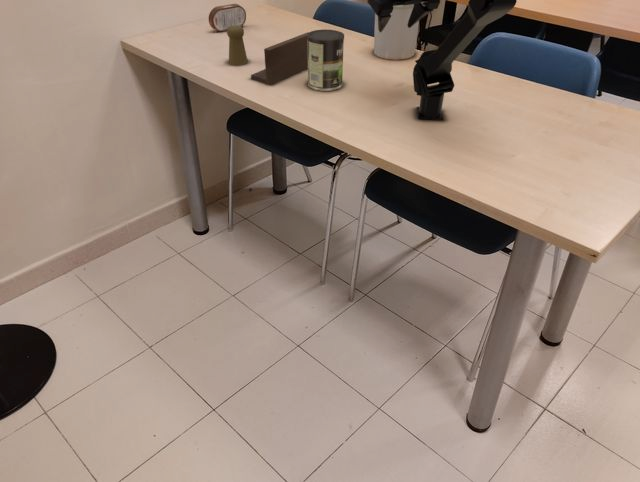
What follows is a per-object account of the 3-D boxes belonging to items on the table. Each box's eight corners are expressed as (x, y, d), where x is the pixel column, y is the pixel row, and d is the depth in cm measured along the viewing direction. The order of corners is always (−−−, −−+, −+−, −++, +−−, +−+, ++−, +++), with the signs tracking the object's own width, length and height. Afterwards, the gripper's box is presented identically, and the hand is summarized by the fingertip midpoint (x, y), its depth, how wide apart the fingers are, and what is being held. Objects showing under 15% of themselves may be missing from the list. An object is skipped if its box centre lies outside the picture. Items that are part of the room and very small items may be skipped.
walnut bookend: (313, 66, 159) (313, 33, 152) (271, 85, 146) (269, 50, 140) (293, 60, 162) (292, 28, 156) (251, 78, 150) (248, 44, 143)
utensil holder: (368, 58, 164) (371, 0, 154) (375, 44, 176) (379, -10, 165) (413, 62, 162) (420, 4, 151) (417, 48, 173) (424, -8, 162)
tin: (243, 25, 194) (241, 1, 188) (248, 26, 192) (246, 3, 187) (209, 32, 186) (206, 7, 181) (213, 34, 184) (210, 9, 179)
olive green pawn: (224, 63, 160) (220, 27, 153) (236, 57, 164) (232, 22, 157) (240, 66, 158) (237, 30, 151) (251, 60, 162) (248, 25, 155)
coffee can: (345, 79, 150) (347, 30, 141) (339, 92, 142) (340, 41, 133) (311, 76, 151) (311, 27, 143) (303, 89, 143) (303, 38, 135)
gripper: (429, -49, 127) (408, 5, 140) (366, -44, 120) (351, 13, 134) (452, -22, 123) (428, 32, 136) (388, -15, 116) (369, 41, 130)
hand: (394, 28), depth 134 cm, fingers open, 9 cm apart
